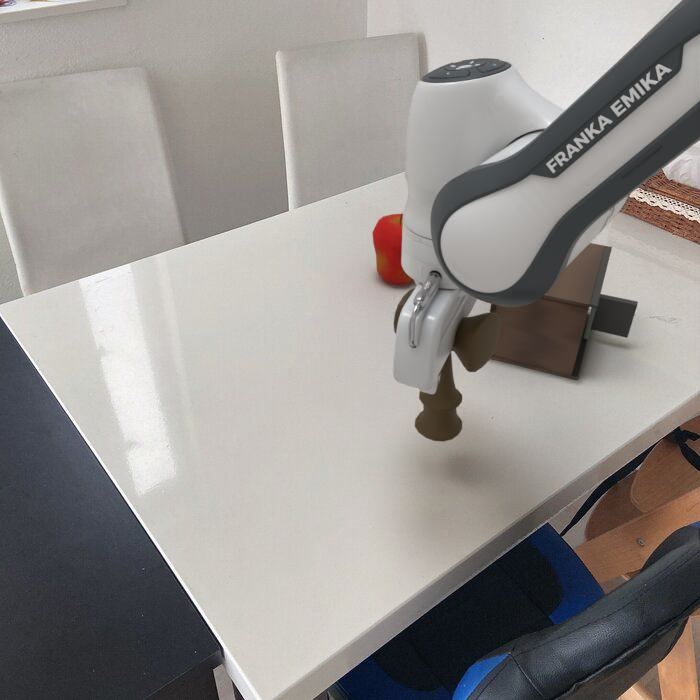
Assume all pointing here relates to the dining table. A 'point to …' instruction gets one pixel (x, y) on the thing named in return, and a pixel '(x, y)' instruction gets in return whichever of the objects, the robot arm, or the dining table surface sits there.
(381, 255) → the apple
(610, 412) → the dining table surface
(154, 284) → the dining table surface
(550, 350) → the cabinet
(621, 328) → the door
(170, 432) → the dining table surface
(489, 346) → the kendama
